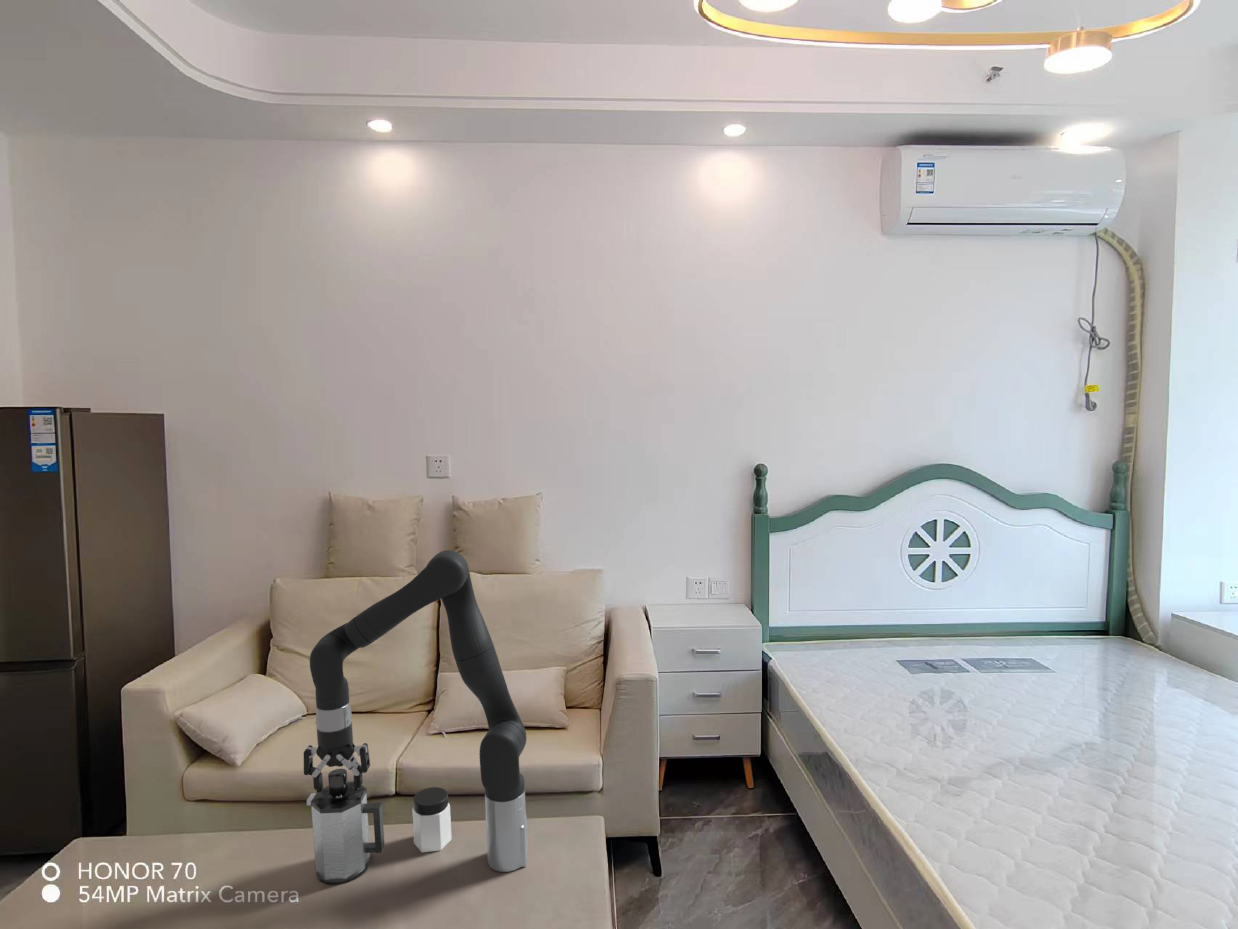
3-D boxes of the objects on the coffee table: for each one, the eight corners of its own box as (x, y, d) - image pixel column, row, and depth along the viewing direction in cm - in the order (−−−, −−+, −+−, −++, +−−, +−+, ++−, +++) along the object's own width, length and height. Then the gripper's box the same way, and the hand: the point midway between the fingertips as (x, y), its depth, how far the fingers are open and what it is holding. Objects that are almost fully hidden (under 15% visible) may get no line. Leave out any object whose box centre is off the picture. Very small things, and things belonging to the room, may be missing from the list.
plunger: (354, 849, 172) (349, 768, 170) (348, 860, 168) (343, 777, 166) (337, 850, 172) (331, 768, 170) (331, 861, 168) (325, 778, 166)
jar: (456, 843, 179) (454, 797, 177) (425, 858, 173) (422, 810, 172) (440, 826, 185) (438, 782, 184) (409, 840, 180) (407, 794, 179)
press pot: (390, 849, 177) (386, 779, 175) (377, 882, 165) (372, 808, 163) (323, 852, 176) (318, 781, 174) (304, 886, 164) (299, 811, 162)
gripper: (370, 713, 170) (374, 779, 172) (308, 716, 170) (313, 781, 172) (361, 729, 163) (365, 797, 165) (295, 731, 162) (300, 800, 164)
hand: (338, 789), depth 168 cm, fingers open, 8 cm apart
